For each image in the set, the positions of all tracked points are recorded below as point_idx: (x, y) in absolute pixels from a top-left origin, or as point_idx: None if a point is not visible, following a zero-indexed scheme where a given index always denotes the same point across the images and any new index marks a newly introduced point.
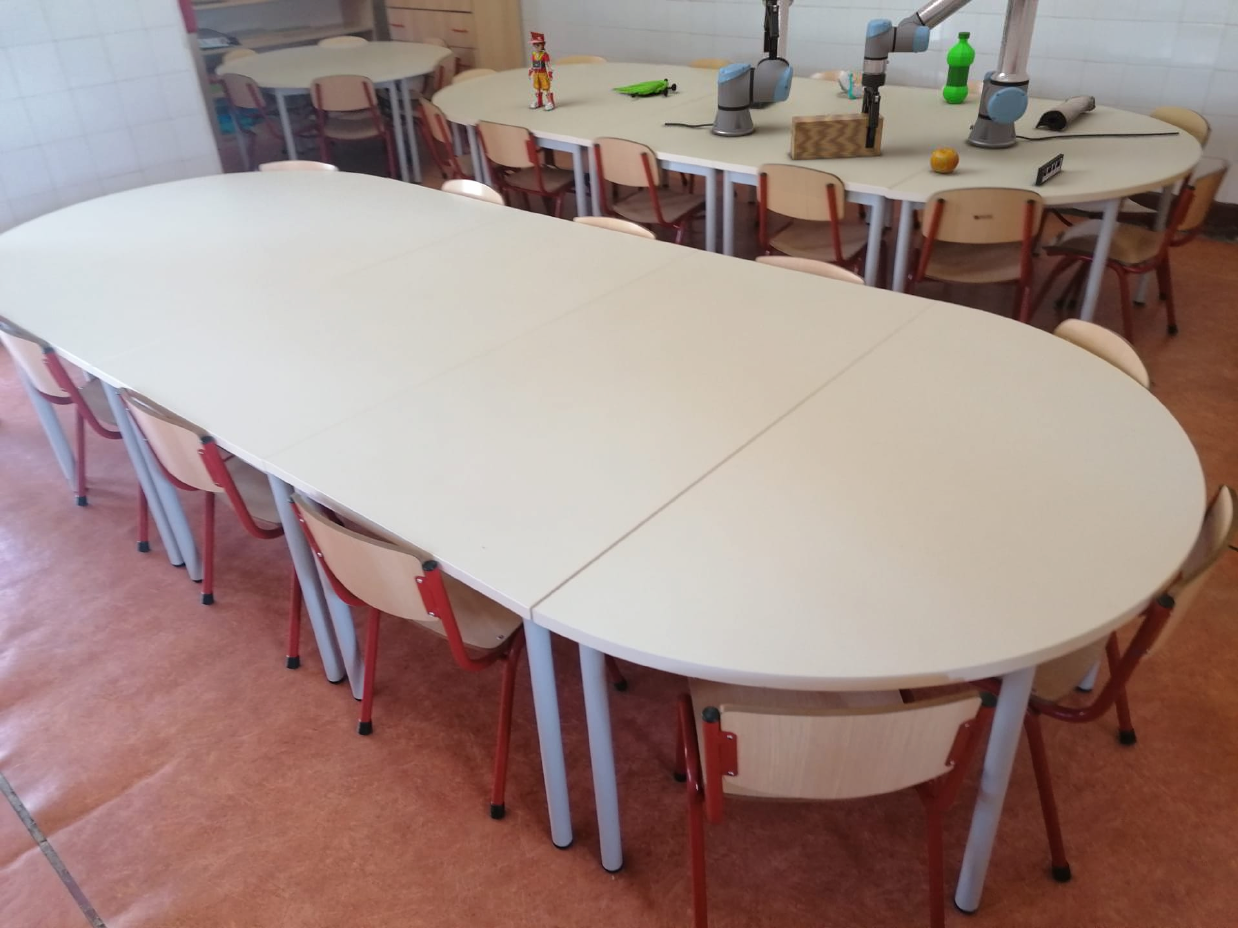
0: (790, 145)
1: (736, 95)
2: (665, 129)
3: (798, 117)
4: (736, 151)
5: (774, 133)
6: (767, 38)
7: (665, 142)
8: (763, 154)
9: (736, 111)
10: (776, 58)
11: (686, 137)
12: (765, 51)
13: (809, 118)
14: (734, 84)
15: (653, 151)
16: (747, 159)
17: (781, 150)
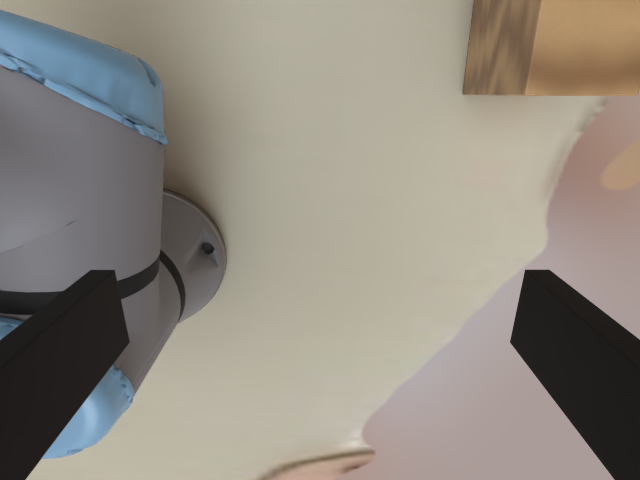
0: (473, 94)
1: (161, 318)
2: (126, 424)
3: (555, 64)
4: (389, 263)
5: (190, 114)
6: (24, 424)
7: (260, 427)
8: (445, 186)
9: (184, 284)
10: (557, 283)
11: (215, 380)
12: (118, 334)
13: (600, 5)
14: (141, 358)
15: (339, 453)
16: (483, 240)
17: (415, 119)
